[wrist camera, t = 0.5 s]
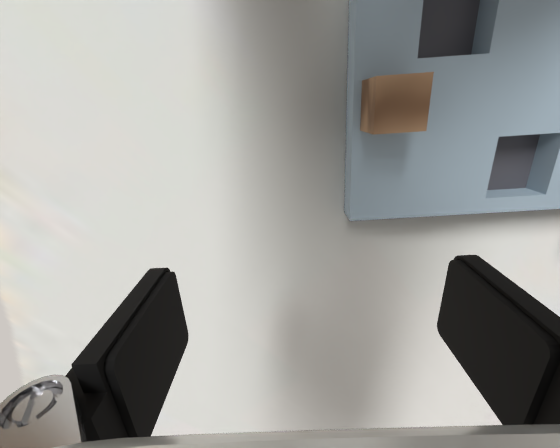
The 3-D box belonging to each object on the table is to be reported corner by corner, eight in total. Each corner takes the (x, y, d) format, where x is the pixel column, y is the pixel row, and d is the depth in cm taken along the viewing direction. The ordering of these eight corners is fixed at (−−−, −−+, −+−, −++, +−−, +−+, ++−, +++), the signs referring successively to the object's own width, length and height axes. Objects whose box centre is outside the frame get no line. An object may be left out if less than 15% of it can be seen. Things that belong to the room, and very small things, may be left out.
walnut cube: (361, 80, 27) (376, 75, 23) (410, 77, 27) (433, 71, 23) (360, 130, 29) (373, 134, 25) (405, 127, 29) (426, 131, 25)
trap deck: (349, -36, 26) (366, -70, 21) (667, -61, 25) (763, -103, 20) (344, 211, 35) (354, 229, 30) (577, 198, 35) (629, 214, 29)
